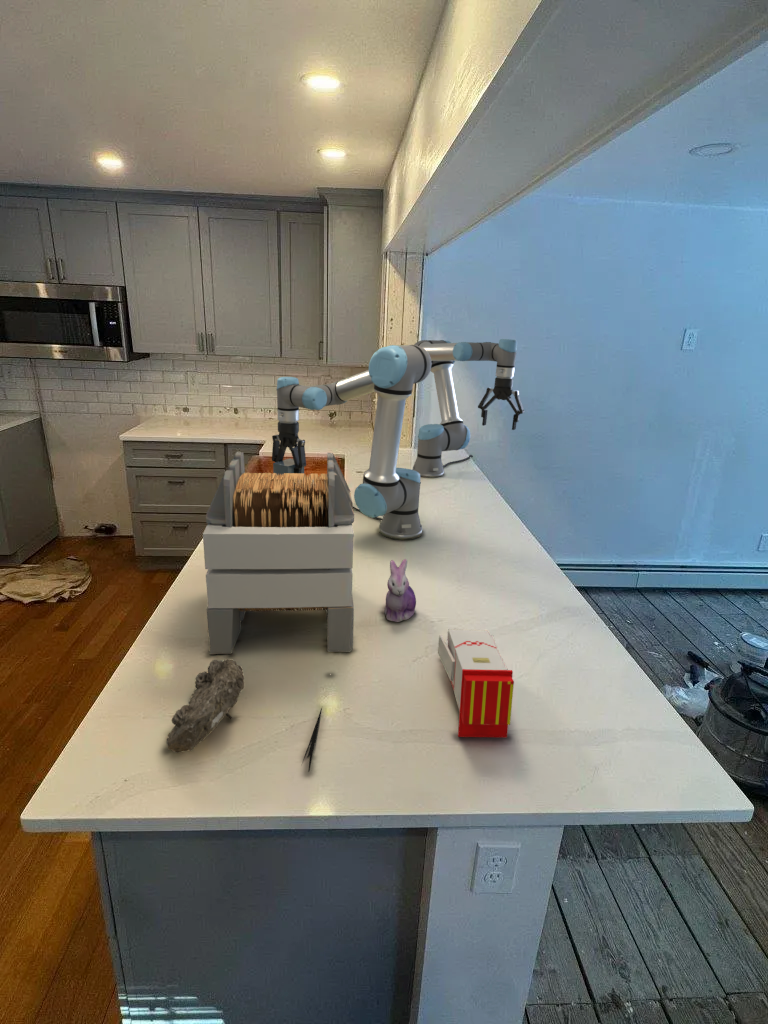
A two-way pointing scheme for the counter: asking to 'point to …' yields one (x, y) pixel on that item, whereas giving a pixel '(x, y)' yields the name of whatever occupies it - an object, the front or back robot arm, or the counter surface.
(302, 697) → the counter surface
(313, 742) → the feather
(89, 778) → the counter surface
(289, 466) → the block
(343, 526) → the record crate stand
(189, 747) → the fossil
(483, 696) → the toy
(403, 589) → the figurine
